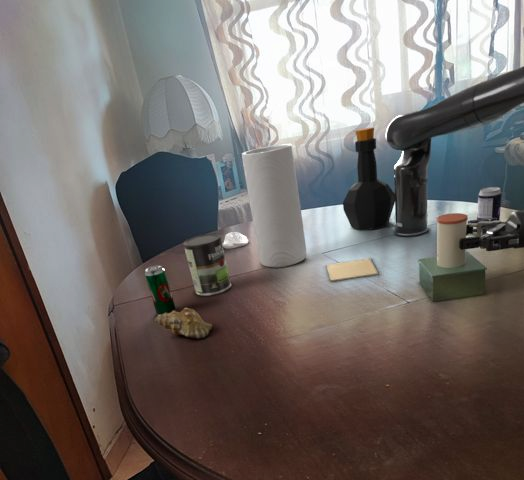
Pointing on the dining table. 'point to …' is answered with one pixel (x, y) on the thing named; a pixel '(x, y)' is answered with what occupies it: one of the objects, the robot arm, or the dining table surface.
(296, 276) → the dining table surface
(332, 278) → the mat
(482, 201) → the beverage can
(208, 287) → the coffee can
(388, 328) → the dining table surface
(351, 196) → the bottle
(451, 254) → the canister
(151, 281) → the soda can
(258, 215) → the vase
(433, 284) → the tin
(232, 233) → the white lumpy mound
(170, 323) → the seashell
